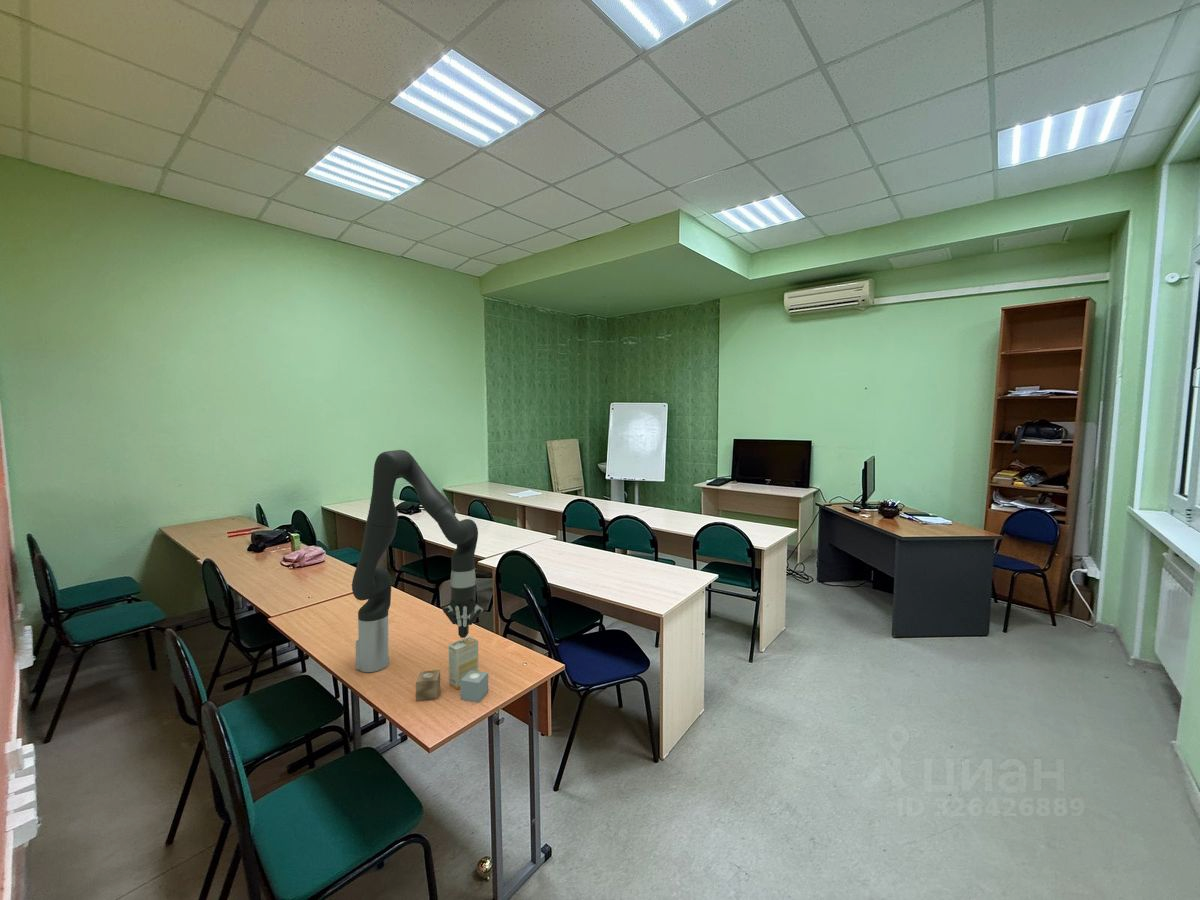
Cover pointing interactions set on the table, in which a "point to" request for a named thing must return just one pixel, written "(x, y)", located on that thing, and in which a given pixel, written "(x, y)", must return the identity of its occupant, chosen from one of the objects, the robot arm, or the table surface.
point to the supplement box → (462, 659)
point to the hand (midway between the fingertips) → (463, 636)
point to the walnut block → (428, 685)
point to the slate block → (474, 686)
